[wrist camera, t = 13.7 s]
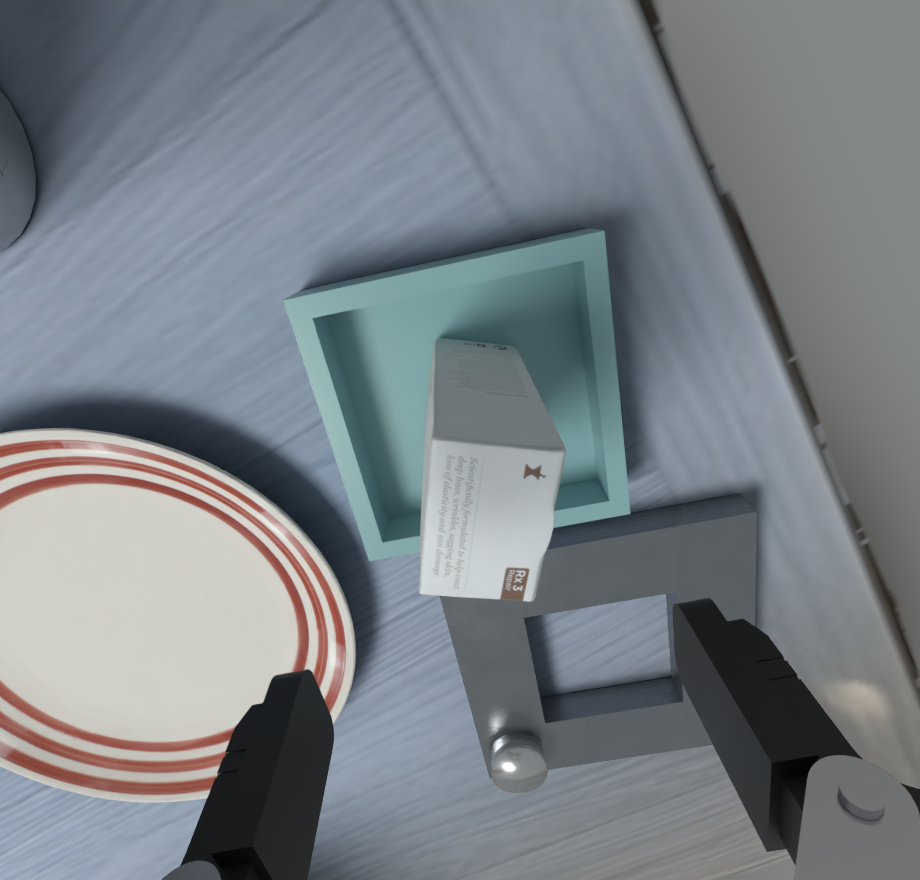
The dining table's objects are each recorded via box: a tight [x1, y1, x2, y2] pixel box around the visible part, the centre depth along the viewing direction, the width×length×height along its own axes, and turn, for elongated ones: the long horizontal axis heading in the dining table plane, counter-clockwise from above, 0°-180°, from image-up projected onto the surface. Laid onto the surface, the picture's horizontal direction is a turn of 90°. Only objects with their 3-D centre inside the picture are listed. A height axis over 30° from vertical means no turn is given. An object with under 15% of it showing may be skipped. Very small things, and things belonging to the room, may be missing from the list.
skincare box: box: [419, 338, 566, 602], centre depth 23 cm, size 6×4×12 cm
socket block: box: [440, 494, 757, 793], centre depth 34 cm, size 18×18×4 cm
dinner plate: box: [0, 428, 356, 802], centre depth 33 cm, size 28×27×3 cm
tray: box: [283, 228, 631, 561], centre depth 27 cm, size 14×14×3 cm
